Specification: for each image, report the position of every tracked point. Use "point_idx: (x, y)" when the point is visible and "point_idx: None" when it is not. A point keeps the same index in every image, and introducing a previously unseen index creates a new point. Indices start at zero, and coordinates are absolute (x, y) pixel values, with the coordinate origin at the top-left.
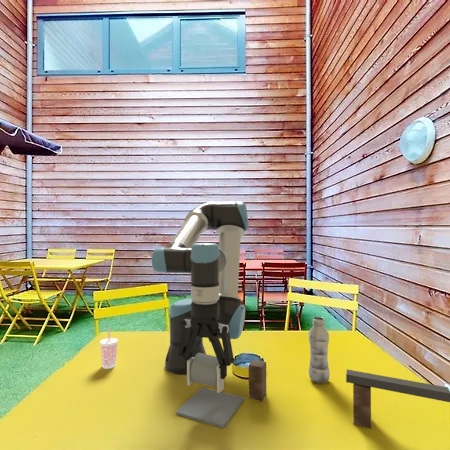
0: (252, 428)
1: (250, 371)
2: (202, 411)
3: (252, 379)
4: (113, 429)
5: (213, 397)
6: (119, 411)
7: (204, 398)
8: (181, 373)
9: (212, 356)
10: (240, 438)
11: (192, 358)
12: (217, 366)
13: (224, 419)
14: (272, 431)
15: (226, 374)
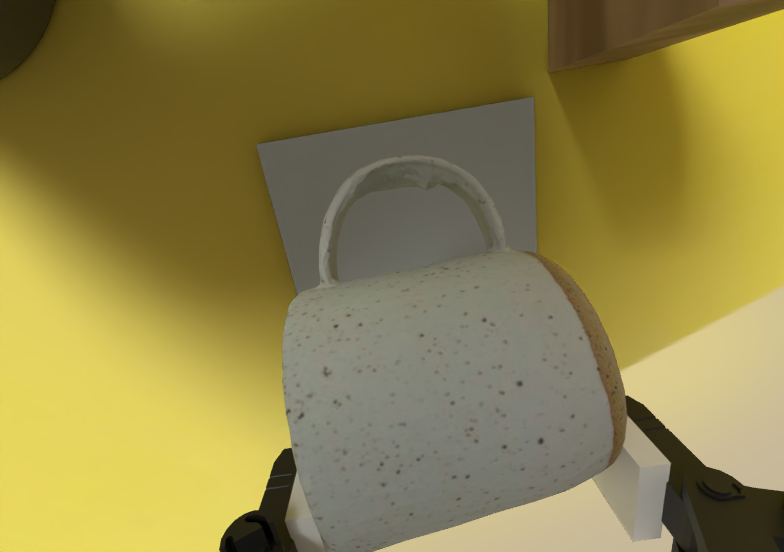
0: (638, 276)
1: (685, 24)
2: None
3: (652, 38)
4: (219, 517)
5: (384, 198)
6: (134, 464)
7: (351, 232)
8: (2, 71)
9: (502, 452)
10: (612, 344)
11: (315, 539)
12: (636, 535)
13: None
14: (719, 248)
15: (649, 417)
